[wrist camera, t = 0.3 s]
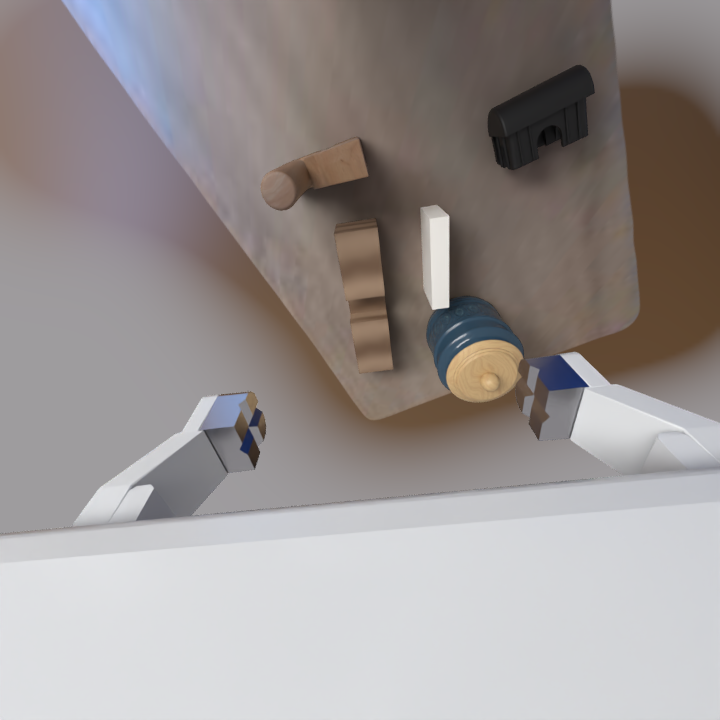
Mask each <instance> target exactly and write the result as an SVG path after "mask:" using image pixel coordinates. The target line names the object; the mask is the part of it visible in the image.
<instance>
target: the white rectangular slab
mask: <svg viewBox="0 0 720 720" xmlns="http://www.w3.org/2000/svg"><path fill="white" fill-rule="evenodd" d="M420 215H421V238H422V261H423V285H424V291H425V294H426V296H427V298H428V301H429V303H430V305H431V308H432V310H434V309H441V308H449V215H448V214H447V213H445V212H444V211H443V210H442V209H441V208H440V207H439V206H438V205H433V206H427V207H420Z"/></svg>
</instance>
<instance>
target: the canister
mask: <svg viewBox="0 0 720 720" xmlns="http://www.w3.org/2000/svg"><path fill="white" fill-rule="evenodd" d="M426 336H427V342H428V345H429V348H430V350H431V352H432V354H433V357H434V363H435V366H436V368H437V370H438V375H439V378H440V380H441V382H442V384H443V385H444V386H445V387H446V388H447V389H448V390H450V391H451V392H452V393H454V395H455V396H457V397H459V398H460V399H462V400H465V401H469V402H486V401H491V400H494V399H497V398H499V397H501V396H503V395H505V394H506V393H508V392H509V391H510V390H512V389H513V388H514V387H515V386H516V383H517V382H518V380H519V379H520V378H521V377H522V376H521V375H520V373H519V372H518V367H519V363H520V361H521V359H524V350H523V346H522V344H521V342H520V340H519V339H518V338H517V337H516V336H515V335H514V334H513V332H512V330H511V329H510V327H509V326H508V325H507V324H506V323H504V322H503V320H502V319H501V318H500V315H499V313H498V312H497V310H496V309H495V308H494V307H493V306H492V305H491V304H490V303H488V302H486V301H484V300H483V299H481V298H478V297H474V296H461V297H456V298H453V299H451V300H449V308H441V309H436V310H435V311H434V313H433V314H432V316H431V317H430V319H429V322H428V325H427V333H426Z"/></svg>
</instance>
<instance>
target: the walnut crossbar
mask: <svg viewBox="0 0 720 720" xmlns="http://www.w3.org/2000/svg"><path fill="white" fill-rule="evenodd" d="M334 237H335V242H336V248H337V253H338V259H339V264H340V270H341V275H342V281H343V286H344V292H345V297H346V301H348V302H349V307H350V313H351V319H350V325H351V330H352V336H353V341H354V347H355V352H356V358H357V363H358V369H359V374H360V373H368V372H377V371H385V370H393V362H392V353H391V344H390V336H389V327H388V318H387V312H386V304H385V291H384V282H383V273H382V264H381V255H380V246H379V237H378V228H377V223H376V218H373V219H367V220H360V221H354V222H348V223H341V224H336V228H335V232H334Z"/></svg>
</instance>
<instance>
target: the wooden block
mask: <svg viewBox="0 0 720 720" xmlns="http://www.w3.org/2000/svg"><path fill="white" fill-rule="evenodd" d="M368 176H369V173H368V169H367V164H366V161H365V157H364V153H363V149H362V146H361V142H360V139H359V137H354V138H351V139H349V140H346V141H343V142H341V143H338V144H336V145H334V146H333V147H331V148H328V149H326V150H323V151H317V152H315V153H312V154H310V155H307V156H304V157H302V158H299V159H297V160H293V161H291V162H289V163H286V164H284V165H282V166H281V167H278V168H276V169H274V170H272V171H270V172H269V173H267V174H266V175H265V176H264V178H263V179H262V182H261V193H262V196H263V198H264V200H265V202H266V203H267V204H268V205H269V206H270V207H272V208H274V209H276V210H281V211H282V210H287V209H289V208H291V207H292V206H293V205H294V204H295V203H296V201H297V200H298V199H299V198H300V197H301V196H302V194H303V193H304V192H305V191H306V190H307V189H309V188H312V187H314V189H319V188H323V187H328V186H332V185H336V184H340V183H345V182H349V181H353V180H357V179H361V178H366V177H368Z"/></svg>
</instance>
